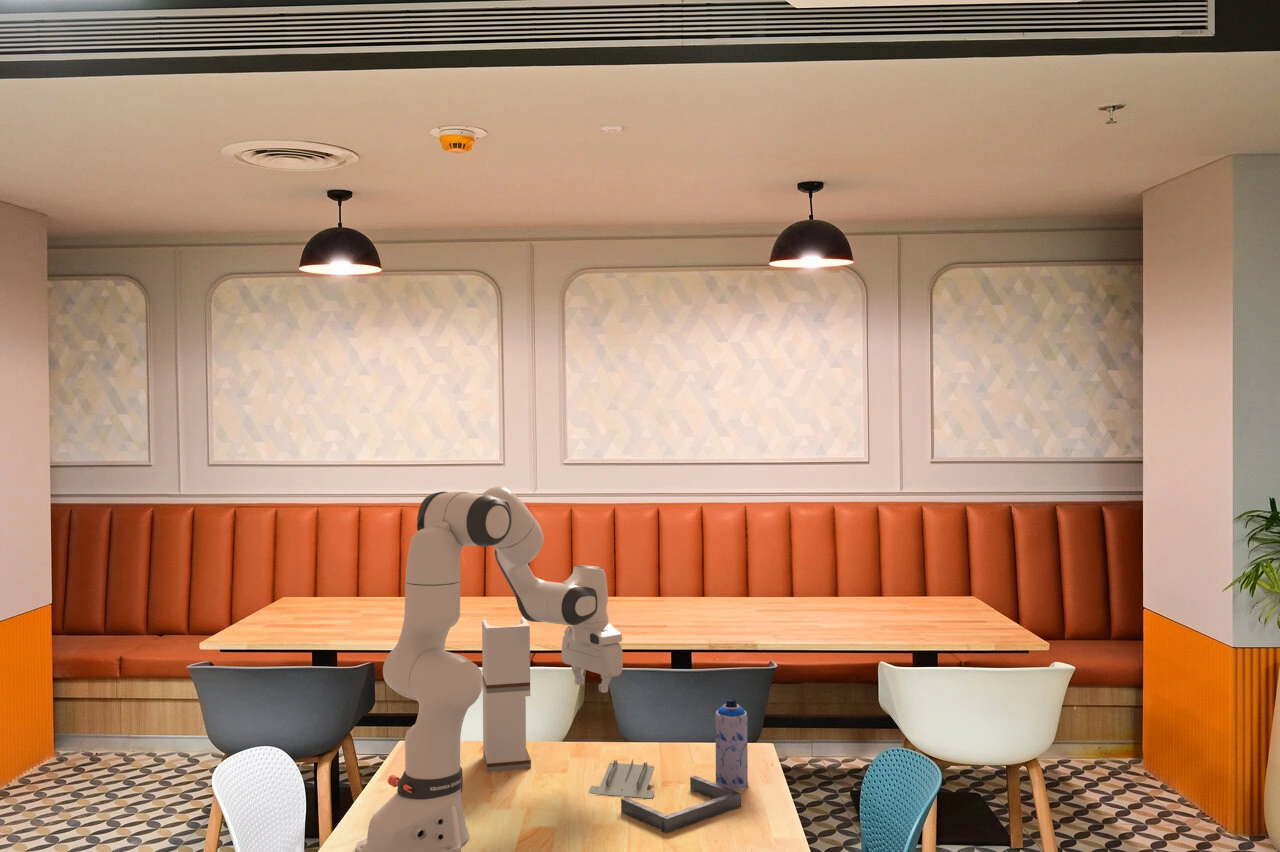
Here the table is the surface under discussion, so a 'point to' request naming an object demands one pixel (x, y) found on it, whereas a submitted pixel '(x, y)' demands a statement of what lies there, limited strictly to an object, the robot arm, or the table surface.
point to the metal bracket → (626, 781)
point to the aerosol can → (731, 746)
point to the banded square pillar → (505, 695)
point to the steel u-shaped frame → (720, 804)
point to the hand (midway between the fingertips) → (591, 688)
